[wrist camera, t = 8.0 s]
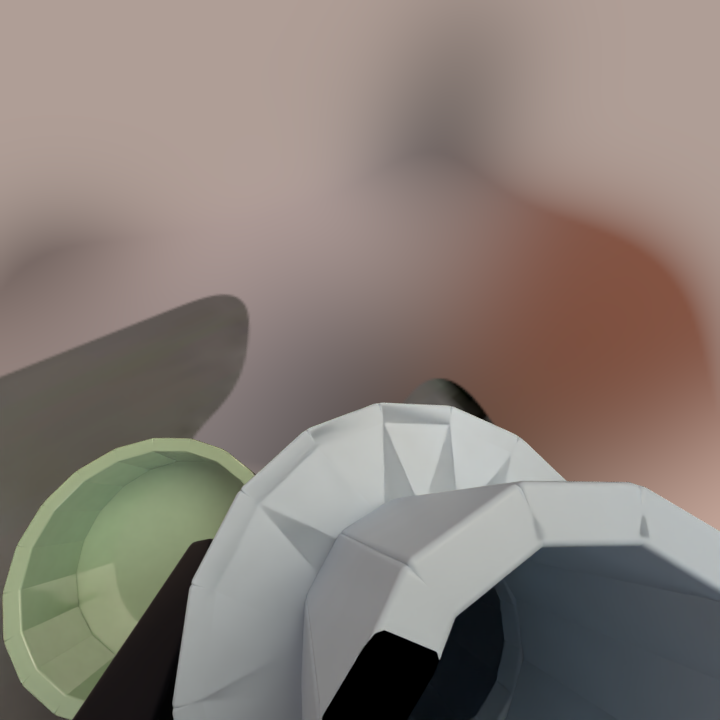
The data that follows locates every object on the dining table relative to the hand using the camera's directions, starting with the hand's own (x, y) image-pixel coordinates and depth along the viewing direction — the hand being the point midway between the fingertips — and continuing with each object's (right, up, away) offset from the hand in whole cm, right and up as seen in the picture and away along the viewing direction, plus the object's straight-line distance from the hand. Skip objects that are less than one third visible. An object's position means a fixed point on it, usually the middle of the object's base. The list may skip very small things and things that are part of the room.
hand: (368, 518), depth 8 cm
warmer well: (-9, -6, +11) cm, 15 cm away
